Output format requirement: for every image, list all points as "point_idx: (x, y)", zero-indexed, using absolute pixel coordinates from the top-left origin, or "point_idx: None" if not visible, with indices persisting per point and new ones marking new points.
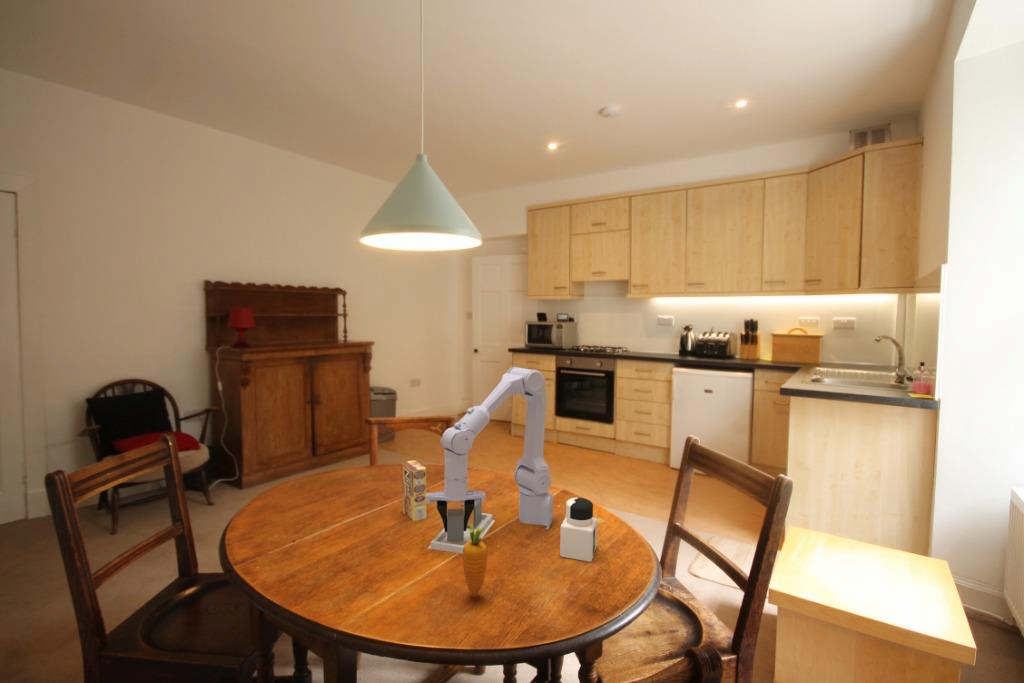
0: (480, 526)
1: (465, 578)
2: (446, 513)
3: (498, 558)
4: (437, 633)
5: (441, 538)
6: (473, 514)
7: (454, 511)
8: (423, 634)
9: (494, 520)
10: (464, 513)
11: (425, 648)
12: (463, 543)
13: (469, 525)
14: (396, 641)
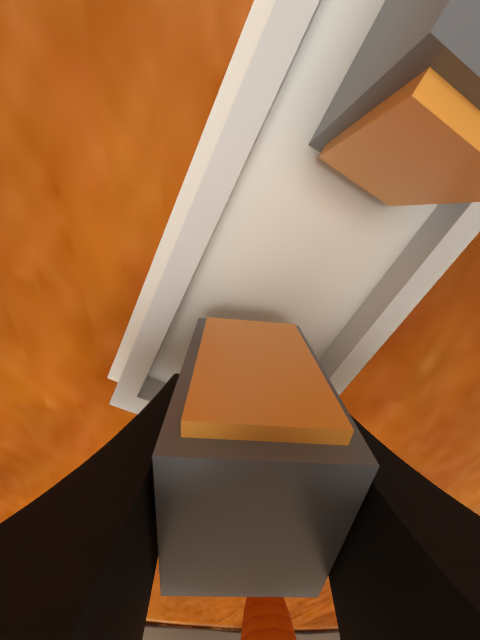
0: (430, 263)
1: (242, 629)
2: (139, 637)
3: (383, 440)
4: (181, 609)
5: (166, 334)
6: (465, 201)
7: (242, 518)
8: (157, 609)
9: None
10: (340, 594)
11: (163, 624)
12: None
13: (367, 190)
14: None
